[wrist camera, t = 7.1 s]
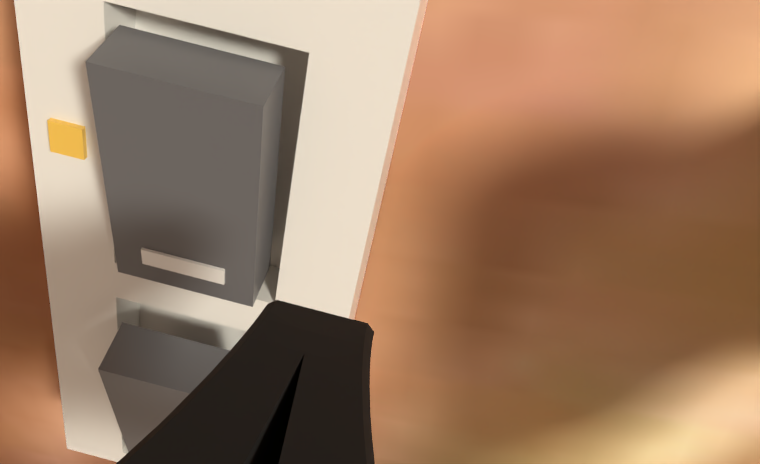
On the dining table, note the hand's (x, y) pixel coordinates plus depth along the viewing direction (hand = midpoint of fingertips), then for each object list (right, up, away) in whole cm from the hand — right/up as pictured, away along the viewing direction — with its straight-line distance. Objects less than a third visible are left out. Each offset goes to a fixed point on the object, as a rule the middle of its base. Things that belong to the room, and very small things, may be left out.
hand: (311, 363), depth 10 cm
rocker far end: (-5, -3, +11) cm, 12 cm away
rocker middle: (-3, +3, +6) cm, 8 cm away
